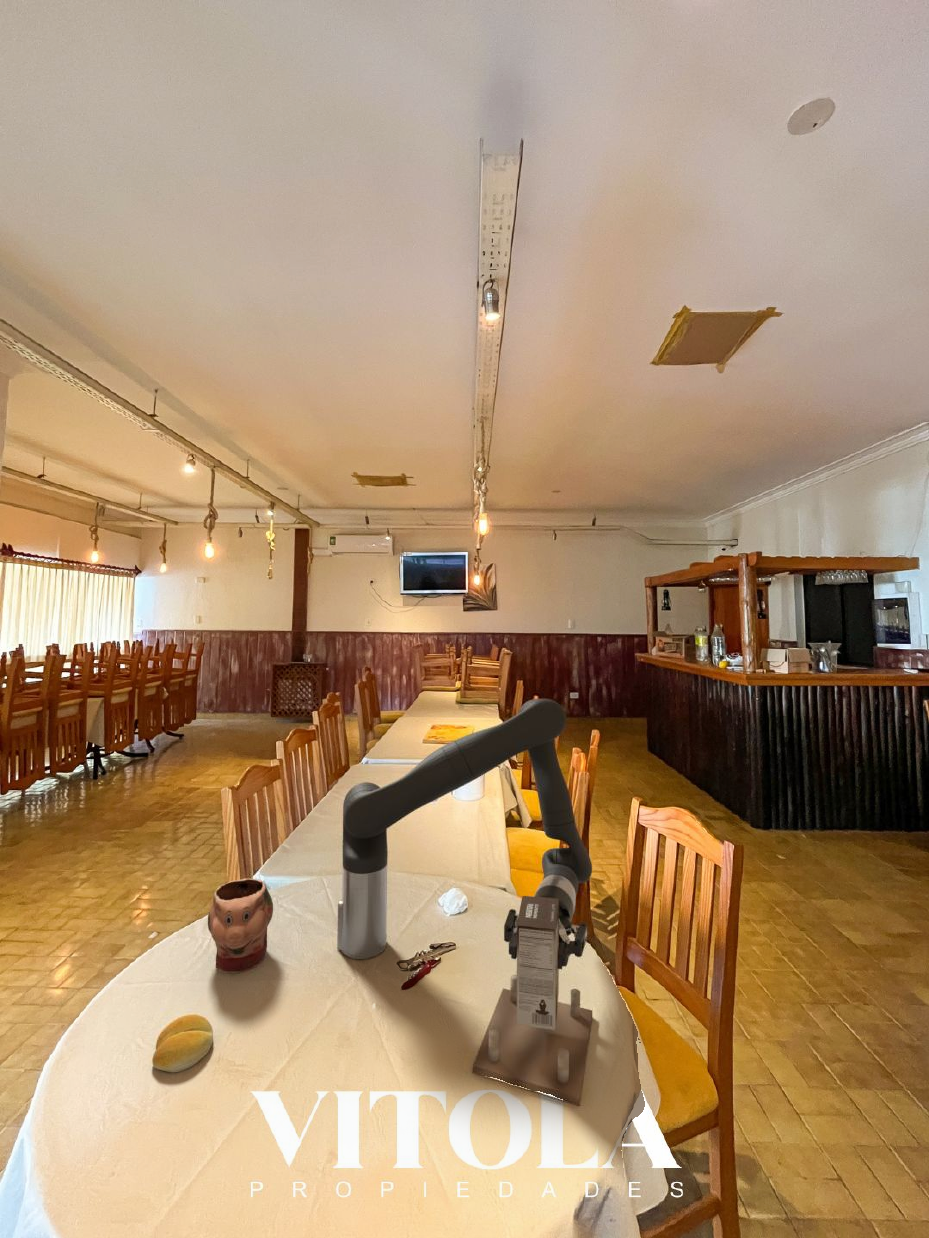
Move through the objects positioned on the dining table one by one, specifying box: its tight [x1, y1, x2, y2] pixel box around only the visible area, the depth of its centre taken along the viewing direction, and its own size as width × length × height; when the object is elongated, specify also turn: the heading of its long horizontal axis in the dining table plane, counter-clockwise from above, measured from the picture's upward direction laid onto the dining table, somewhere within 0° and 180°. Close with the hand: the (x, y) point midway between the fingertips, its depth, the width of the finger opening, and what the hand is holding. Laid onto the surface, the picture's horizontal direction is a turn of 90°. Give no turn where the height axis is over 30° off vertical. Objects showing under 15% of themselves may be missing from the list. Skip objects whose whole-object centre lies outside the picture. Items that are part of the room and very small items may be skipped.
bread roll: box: [151, 1014, 214, 1073], centre depth 85 cm, size 8×9×4 cm
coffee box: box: [516, 895, 560, 1030], centre depth 88 cm, size 9×6×16 cm
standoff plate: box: [472, 974, 593, 1106], centre depth 88 cm, size 16×18×5 cm
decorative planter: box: [207, 877, 274, 973], centre depth 109 cm, size 20×12×14 cm, turn 24°
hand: (536, 958), depth 86 cm, fingers closed on coffee box, 7 cm apart
